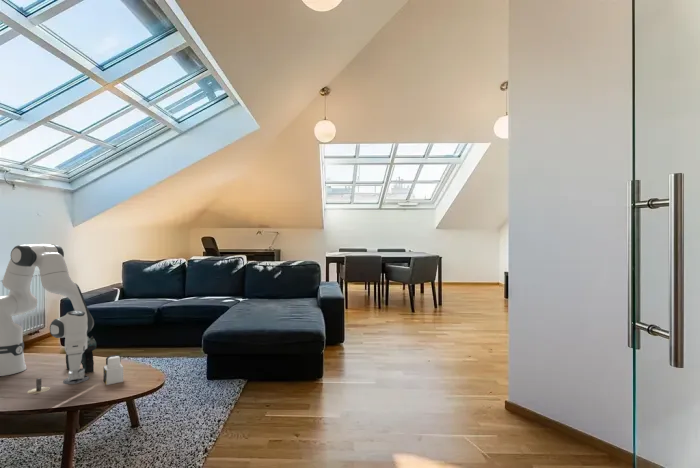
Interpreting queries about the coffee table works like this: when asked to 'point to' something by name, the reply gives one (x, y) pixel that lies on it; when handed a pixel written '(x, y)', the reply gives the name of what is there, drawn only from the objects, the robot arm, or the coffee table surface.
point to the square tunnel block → (80, 374)
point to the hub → (75, 380)
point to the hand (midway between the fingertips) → (76, 375)
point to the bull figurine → (87, 356)
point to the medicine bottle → (113, 370)
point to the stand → (38, 388)
